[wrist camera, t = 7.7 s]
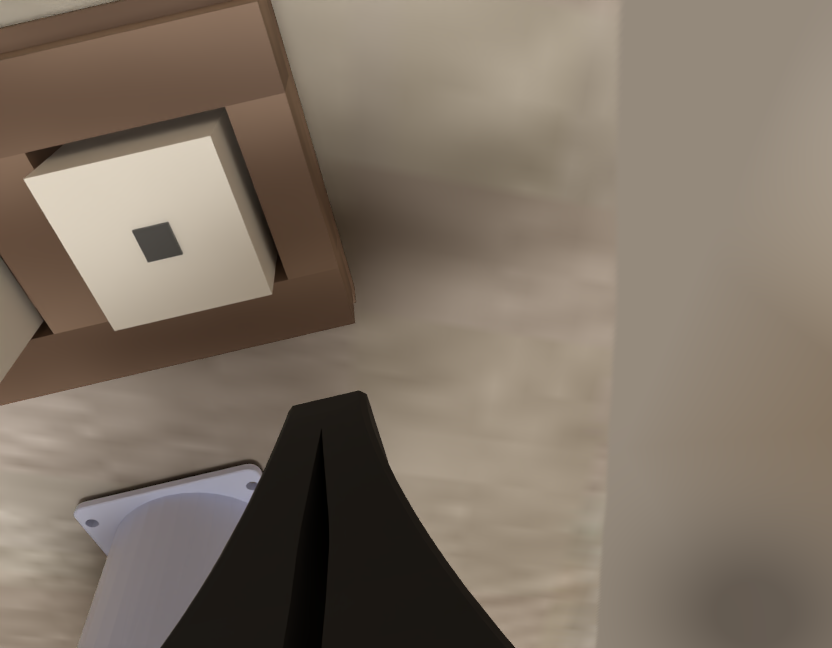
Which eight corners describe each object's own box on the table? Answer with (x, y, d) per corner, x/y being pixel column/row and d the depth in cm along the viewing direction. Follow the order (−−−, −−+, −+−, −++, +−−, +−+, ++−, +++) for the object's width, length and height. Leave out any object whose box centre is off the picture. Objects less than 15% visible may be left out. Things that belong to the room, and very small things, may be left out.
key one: (278, 245, 19) (271, 295, 16) (141, 277, 19) (113, 332, 16) (226, 103, 16) (209, 136, 14) (69, 140, 16) (22, 180, 14)
